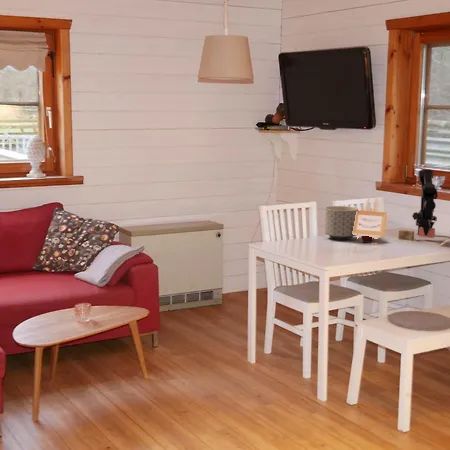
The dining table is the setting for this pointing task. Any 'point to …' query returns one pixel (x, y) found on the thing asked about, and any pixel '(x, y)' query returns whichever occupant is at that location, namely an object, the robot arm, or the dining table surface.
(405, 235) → the brick walnut
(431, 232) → the brick red
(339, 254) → the dining table surface
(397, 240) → the plate
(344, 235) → the planter
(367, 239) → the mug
